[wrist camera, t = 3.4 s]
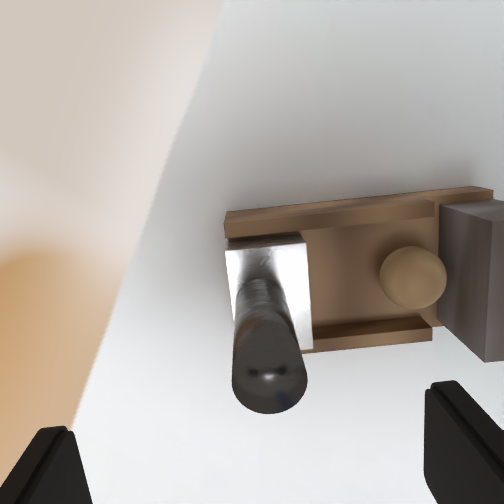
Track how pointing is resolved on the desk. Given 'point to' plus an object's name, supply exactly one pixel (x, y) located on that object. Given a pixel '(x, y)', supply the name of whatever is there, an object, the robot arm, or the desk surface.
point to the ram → (269, 319)
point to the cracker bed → (376, 251)
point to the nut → (413, 277)
